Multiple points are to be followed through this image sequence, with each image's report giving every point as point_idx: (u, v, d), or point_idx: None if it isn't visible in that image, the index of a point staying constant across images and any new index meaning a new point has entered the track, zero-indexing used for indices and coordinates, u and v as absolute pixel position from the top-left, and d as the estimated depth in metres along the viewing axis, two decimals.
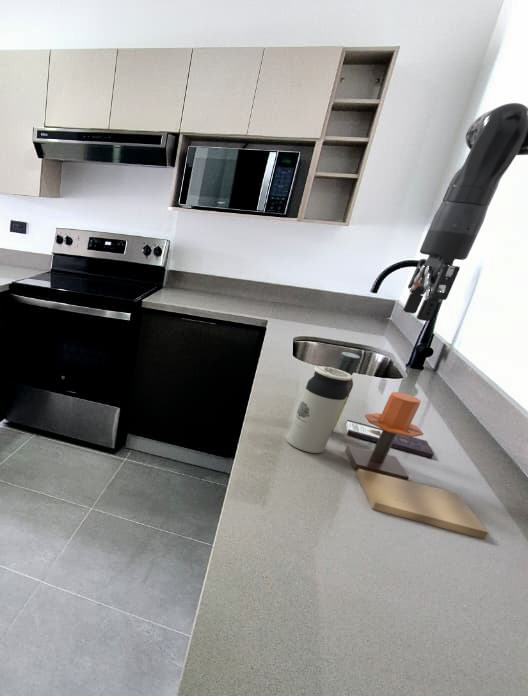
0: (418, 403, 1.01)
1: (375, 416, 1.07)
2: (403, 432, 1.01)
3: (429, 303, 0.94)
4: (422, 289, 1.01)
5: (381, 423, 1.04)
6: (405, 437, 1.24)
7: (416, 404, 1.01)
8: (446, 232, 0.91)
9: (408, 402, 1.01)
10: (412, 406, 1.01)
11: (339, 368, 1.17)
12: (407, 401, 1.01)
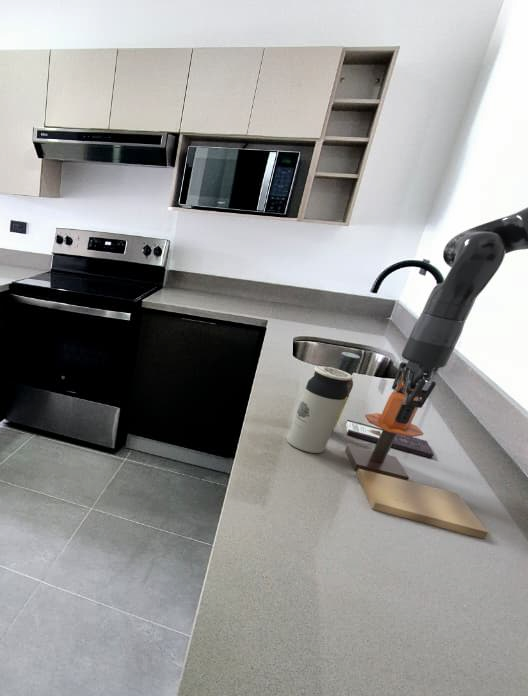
0: None
1: (375, 416, 1.07)
2: (403, 432, 1.01)
3: (406, 409, 1.00)
4: None
5: (381, 423, 1.04)
6: (405, 437, 1.24)
7: None
8: (425, 343, 0.95)
9: None
10: None
11: (339, 368, 1.17)
12: None
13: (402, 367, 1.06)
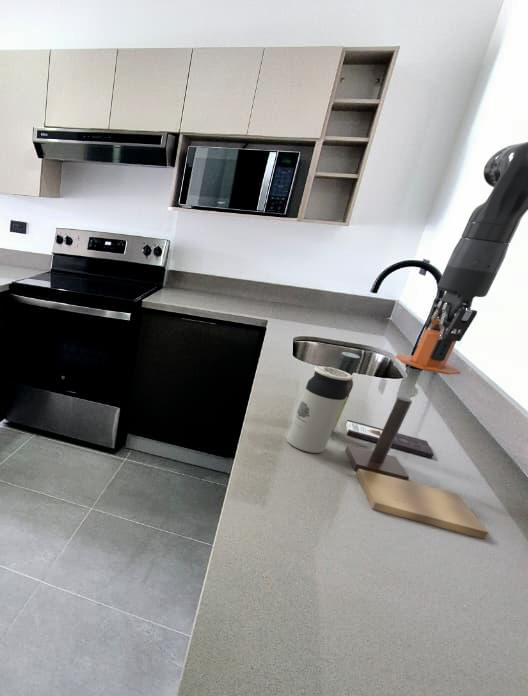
0: None
1: (407, 357, 1.00)
2: (439, 370, 0.94)
3: (443, 344, 0.93)
4: (440, 329, 0.98)
5: (414, 362, 0.97)
6: (405, 437, 1.24)
7: None
8: (465, 269, 0.88)
9: None
10: None
11: (339, 368, 1.17)
12: None
13: (436, 303, 0.99)
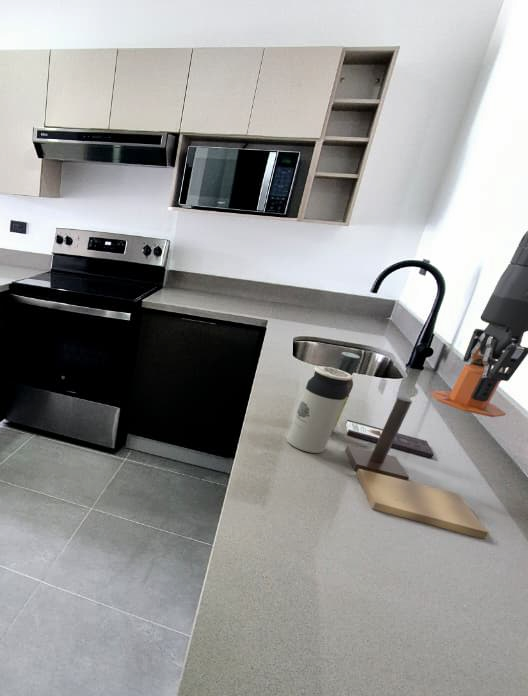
0: None
1: (443, 394, 0.90)
2: (482, 411, 0.83)
3: (487, 383, 0.82)
4: (481, 364, 0.87)
5: (453, 401, 0.87)
6: (405, 437, 1.24)
7: None
8: (516, 300, 0.78)
9: None
10: None
11: (339, 368, 1.17)
12: None
13: (477, 334, 0.88)
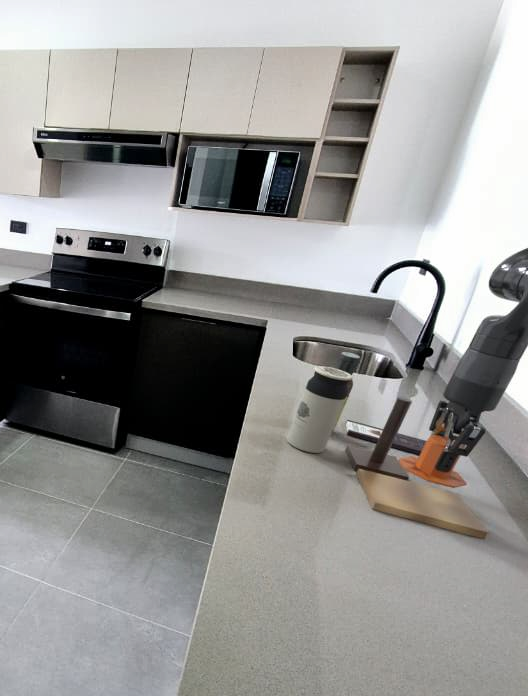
0: None
1: (410, 461, 0.95)
2: (444, 482, 0.89)
3: (448, 456, 0.88)
4: None
5: (418, 470, 0.92)
6: (405, 437, 1.24)
7: None
8: (473, 383, 0.83)
9: None
10: None
11: (339, 368, 1.17)
12: None
13: (441, 406, 0.94)
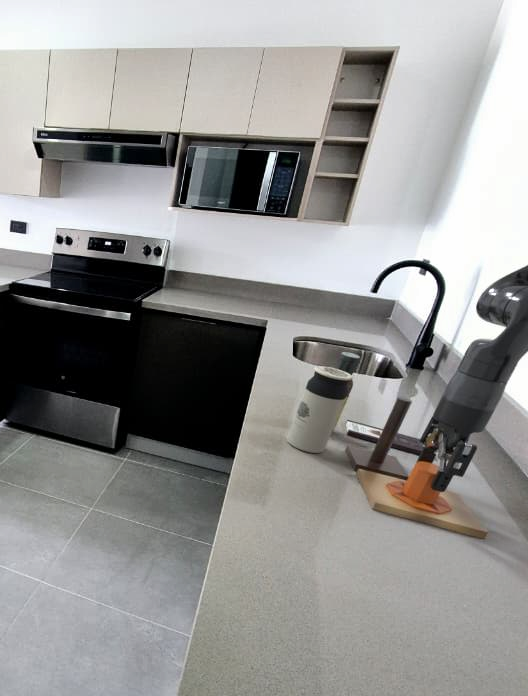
0: None
1: (398, 486, 0.98)
2: (430, 508, 0.91)
3: (444, 476, 0.88)
4: (435, 447, 0.95)
5: (405, 496, 0.94)
6: (405, 437, 1.24)
7: None
8: (462, 406, 0.85)
9: None
10: None
11: (339, 368, 1.17)
12: (435, 474, 0.91)
13: (433, 422, 0.95)
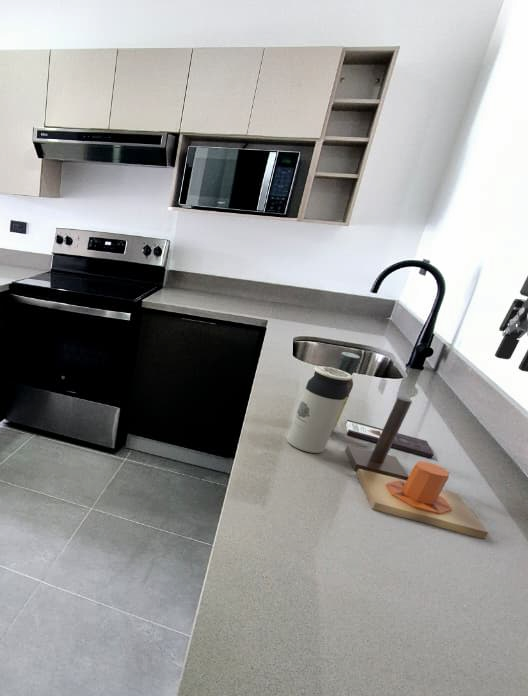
0: (447, 476, 0.91)
1: (398, 486, 0.98)
2: (430, 508, 0.91)
3: None
4: (518, 333, 0.90)
5: (405, 496, 0.94)
6: (405, 437, 1.24)
7: (445, 478, 0.91)
8: None
9: (435, 476, 0.91)
10: (440, 480, 0.91)
11: (339, 368, 1.17)
12: (435, 474, 0.91)
13: (516, 305, 0.89)
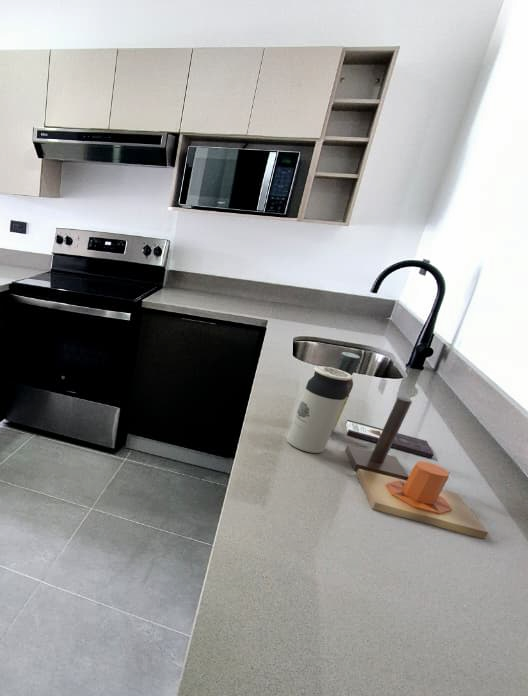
0: (447, 476, 0.91)
1: (398, 486, 0.98)
2: (430, 508, 0.91)
3: None
4: None
5: (405, 496, 0.94)
6: (405, 437, 1.24)
7: (445, 478, 0.91)
8: None
9: (435, 476, 0.91)
10: (440, 480, 0.91)
11: (339, 368, 1.17)
12: (435, 474, 0.91)
13: None
